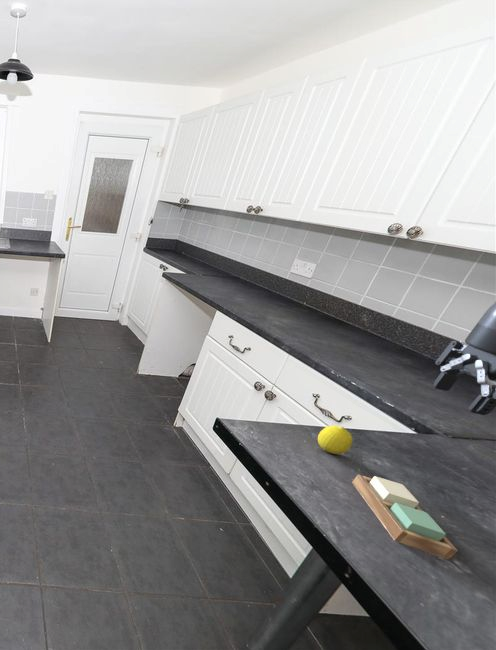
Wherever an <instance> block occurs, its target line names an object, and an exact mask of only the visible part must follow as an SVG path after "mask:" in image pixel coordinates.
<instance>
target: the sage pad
mask: <svg viewBox="0 0 496 650" xmlns="http://www.w3.org/2000/svg"><path fill="white" fill-rule="evenodd" d="M389 510H390V511H391V512H392V514H393V515H394V516H395V518H396V519H397V520H398V521H399V523H400V524H401V525H402V526H403V528H404V529H405V530H407V531H410V532H413V533H416V534H419V535H422V536H425V537H428V538H430V539H433V540H436V541H440V540H441V539H442V538H443V537H444V536H445V537H446V536H447V533H446V532H445V531H444V530H443V529H442V528H441V527H440V526H439V525H438V523H437V522H436V521H435V520H434V519H433V518H432V516H431V515H430V514H429V513H428V512H426V511H424V510H422V511H420V510H417V509H414V508H411V507H408V506H405V505H402V504H399V503H395V504H394V505H393V506H392V507H391V508H390V509H389Z"/></svg>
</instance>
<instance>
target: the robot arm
mask: <svg viewBox="0 0 496 650" xmlns="http://www.w3.org/2000/svg"><path fill="white" fill-rule="evenodd" d="M449 358H451V359H450V361H449V360H448V359H449ZM434 363H435V365H437V366H439V367H440V369H439V370H440V373H439V375H437V377H436V378H435V380H434V382H433V384H432V387H433V388H434V389H436V390H440V391H444V392H445V391H446V392H447V391H450V390H451V388H453V386H454V385H455V384H456V382H457V381H458V380H459V378H460V376H459V375H462V374H465V373H470V374H471V375H472V376H474V377H476V382H477V384H479V385H480V393H479V394H478V395H477V396H476V397H475V399H474V400H473V401H472V403H471V404H470V405H469V406H468V408H467V410H468V411H469V412H471V413H473V414H475V415H476V414H477V415H482V416H486V415H489V414H490V413H492V411H493V410H494V409H495V408H496V390H495V391H493V388H494V389H496V301H495V302H494V303H493V304H491V305H490V306H489V307H488V308H487V309H486V311H484V313H483V314H482V316H481V318H480V319H479V320H478V321H477V323H476V324H475V325H474V327H473V328H472V330H471V331H470V333H469V334H468V335H466V337H465V339H464V341H457V340H452V341H450V342H449V344H448V345H447V347H446V348H445V349H444V350H443V351H442V353H441V354H440V355H439V357H438V358H437V359H436V360H435V362H434Z"/></svg>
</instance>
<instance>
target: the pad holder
mask: <svg viewBox="0 0 496 650" xmlns="http://www.w3.org/2000/svg"><path fill="white" fill-rule="evenodd" d="M372 478H373V477H368V476H366V475H362V474H360V473H359V474H356V476H355V478H353V480H352V482H351V483H352V485H353V486H354V488H355V489H356V490H357V491H358V493H359V494H360V496H361V497H362V498H363V500H364V501H365V503H366V504H367V505H368V507H369V508H370V509H371V511H372V512H373V514H374V515H375V516H376V517H377V519H378V521H380V523H381V524H382V526H383V527H384V528H385V530H386V531H387V532H388V534H389V535H390V537H391V538H392V539H393V541H395V542H397V543H401V544H402V545H405V546H408V547H412V548H415V549H416V550H420V551H423V552H426V553H429V554H431V555H435V556H437V557H441V558H442V559H446V560H448V561H449V560H450V559H452V558H453V556H454V555H456V554H457V553H458V552H459V551H458V550H459V549H457V548H456V547H455V545H453V543H452V542H451V541H450V540H449V539H448V537H447V536H446V535H445V536H444V537H443V538H442V539H441V540H440V541H436V540H433V539H430V538H428V537H425V536H422V535H419V534H416V533H413V532H410V531H407V530H405V529H404V528H403V526H402V525H401V524H400V523H399V521H398V520H397V519H396V518H395V516H394V515H393V514H392V512H391V511H390V510H389V509H390V508H391V507H392V506H393V505H394V504H392V503H388V502H385V501H382V500H381V498H380V497H379V496H378V495H377V493H376V492H375V491H374V490H373V488H372V487H371V486H370V484H369V482H370V481H371V480H372ZM414 509H417V510H420V511H423V509H422V508H421V507H420V506H419V504H418V505H417V506H416V507H415V508H414Z"/></svg>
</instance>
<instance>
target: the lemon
mask: <svg viewBox="0 0 496 650" xmlns="http://www.w3.org/2000/svg"><path fill="white" fill-rule="evenodd" d="M353 441H354V440H353V436H352V434H351V432H350V431H348V430H347V429H346V428H345V427H344V426H339V425H328V426H326V427H324V428H322V430H320V431H319V433H318V435H317V442H318V445H319V447H321V449H322V450H323V451H325V452H326V453H329V454H333V455H342V454H344V453H347V452H348V451H349V450H350V449H351V447H352V446H353Z"/></svg>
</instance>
